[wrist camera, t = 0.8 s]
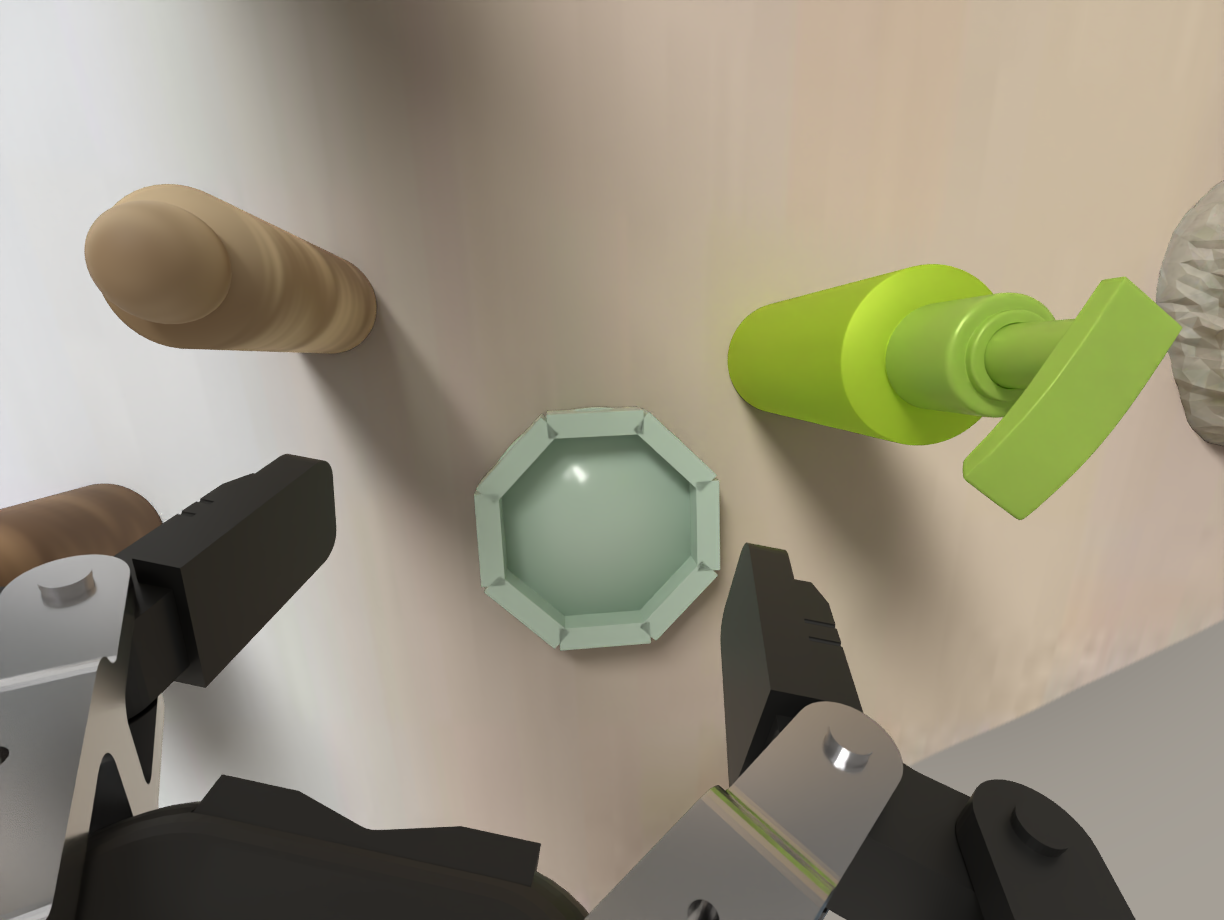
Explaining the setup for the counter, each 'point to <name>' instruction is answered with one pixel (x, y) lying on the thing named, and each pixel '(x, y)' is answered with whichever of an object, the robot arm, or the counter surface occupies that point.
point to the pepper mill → (72, 527)
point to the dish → (597, 528)
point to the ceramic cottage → (1198, 312)
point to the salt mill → (223, 277)
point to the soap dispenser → (958, 370)
